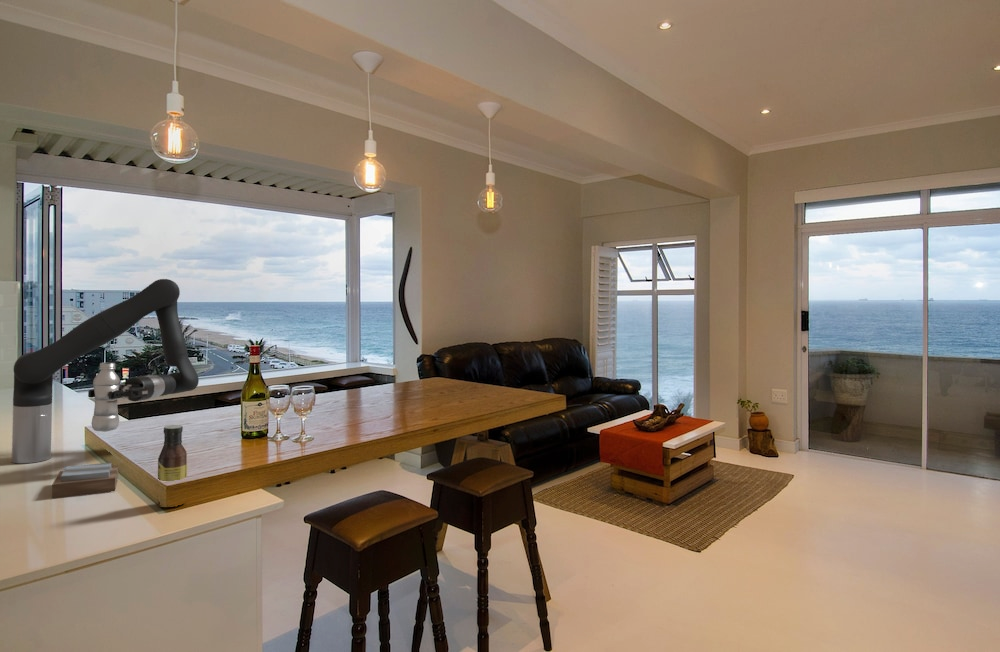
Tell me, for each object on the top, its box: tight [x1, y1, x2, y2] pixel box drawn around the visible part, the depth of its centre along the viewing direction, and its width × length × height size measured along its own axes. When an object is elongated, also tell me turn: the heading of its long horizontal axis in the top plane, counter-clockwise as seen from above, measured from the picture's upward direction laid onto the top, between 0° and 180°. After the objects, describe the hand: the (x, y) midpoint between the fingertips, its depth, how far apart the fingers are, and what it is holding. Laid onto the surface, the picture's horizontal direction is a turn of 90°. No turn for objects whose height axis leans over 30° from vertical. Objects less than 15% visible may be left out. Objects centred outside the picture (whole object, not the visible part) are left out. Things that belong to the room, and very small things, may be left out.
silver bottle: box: [91, 362, 121, 433], centre depth 160 cm, size 6×7×20 cm
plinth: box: [51, 462, 119, 499], centre depth 147 cm, size 13×13×5 cm
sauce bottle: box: [157, 424, 188, 508], centre depth 136 cm, size 6×6×20 cm
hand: (99, 394), depth 158 cm, fingers closed on silver bottle, 6 cm apart
